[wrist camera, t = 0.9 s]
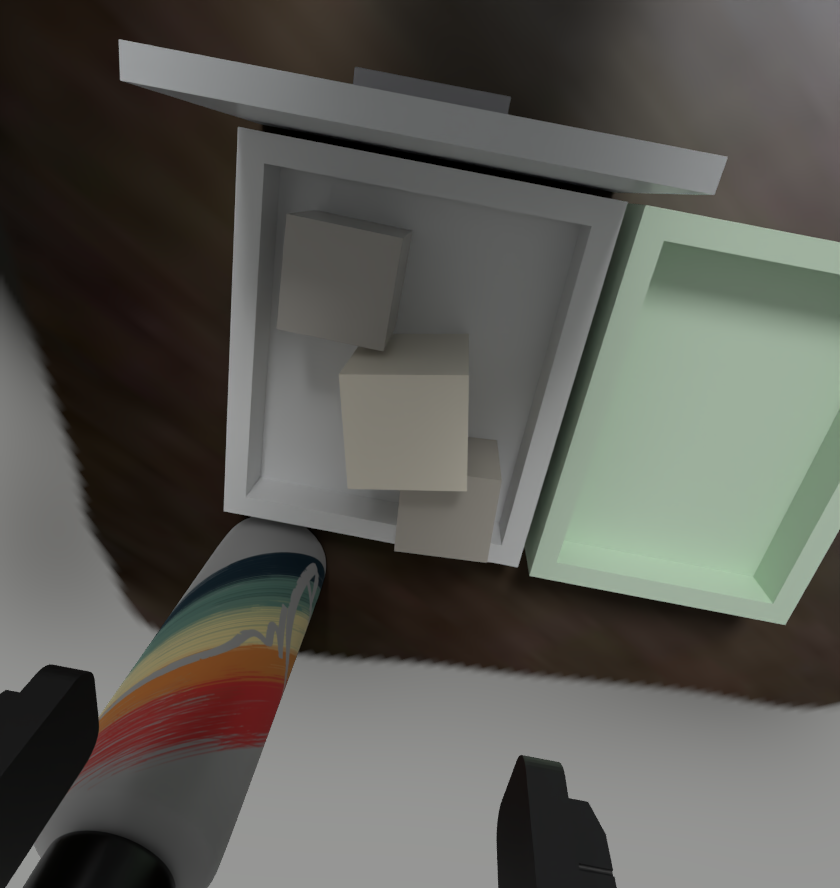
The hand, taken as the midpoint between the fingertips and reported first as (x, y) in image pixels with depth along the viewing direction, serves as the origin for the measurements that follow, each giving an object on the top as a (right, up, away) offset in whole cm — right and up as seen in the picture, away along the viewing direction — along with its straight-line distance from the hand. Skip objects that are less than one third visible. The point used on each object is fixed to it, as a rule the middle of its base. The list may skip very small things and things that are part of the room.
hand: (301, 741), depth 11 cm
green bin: (+15, +7, +15) cm, 22 cm away
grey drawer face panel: (+3, +17, +11) cm, 21 cm away
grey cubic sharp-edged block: (0, +13, +13) cm, 18 cm away
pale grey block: (+4, +4, +17) cm, 18 cm away
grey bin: (+1, +9, +15) cm, 18 cm away
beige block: (+2, +8, +15) cm, 17 cm away
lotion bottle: (-5, 0, +20) cm, 21 cm away
